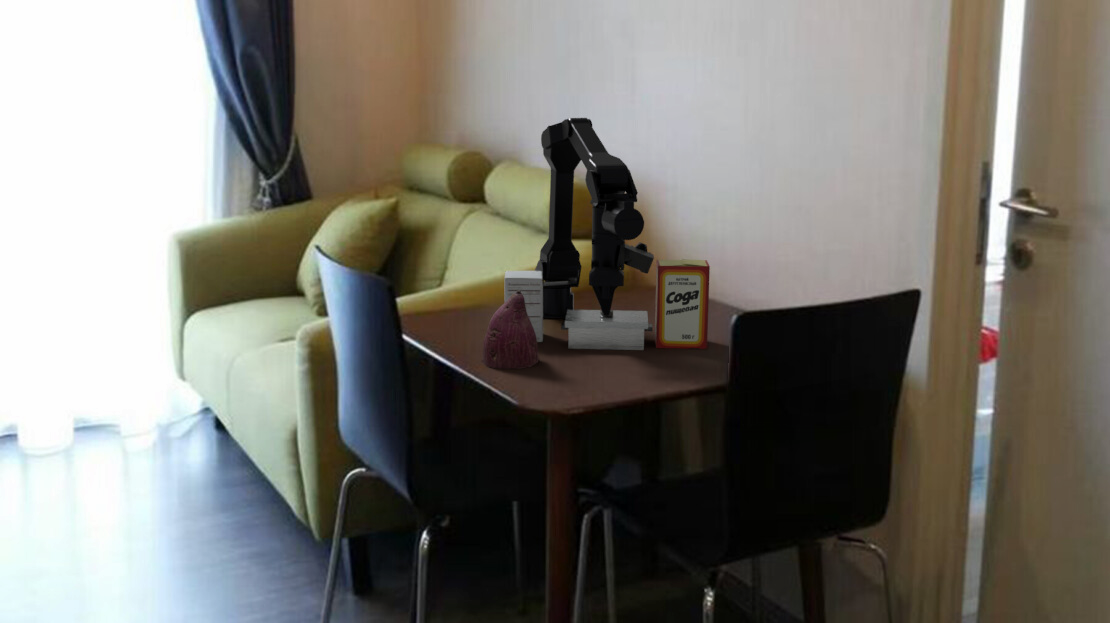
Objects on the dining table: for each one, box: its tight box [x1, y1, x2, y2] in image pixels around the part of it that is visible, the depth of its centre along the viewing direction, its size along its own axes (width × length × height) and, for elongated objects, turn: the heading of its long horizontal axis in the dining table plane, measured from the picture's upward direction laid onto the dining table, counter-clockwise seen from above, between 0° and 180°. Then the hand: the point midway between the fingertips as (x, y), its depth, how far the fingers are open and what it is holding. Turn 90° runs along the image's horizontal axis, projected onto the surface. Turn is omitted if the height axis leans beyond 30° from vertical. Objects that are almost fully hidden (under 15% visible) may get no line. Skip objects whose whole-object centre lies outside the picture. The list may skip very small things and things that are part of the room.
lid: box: [564, 309, 649, 329], centre depth 228 cm, size 15×10×2 cm
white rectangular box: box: [560, 321, 653, 351], centre depth 228 cm, size 17×10×4 cm, turn 87°
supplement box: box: [503, 270, 544, 343], centre depth 231 cm, size 7×7×13 cm
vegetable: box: [481, 290, 539, 370], centre depth 213 cm, size 10×10×15 cm
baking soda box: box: [654, 259, 711, 350], centre depth 226 cm, size 10×6×16 cm
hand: (606, 315), depth 224 cm, fingers closed
